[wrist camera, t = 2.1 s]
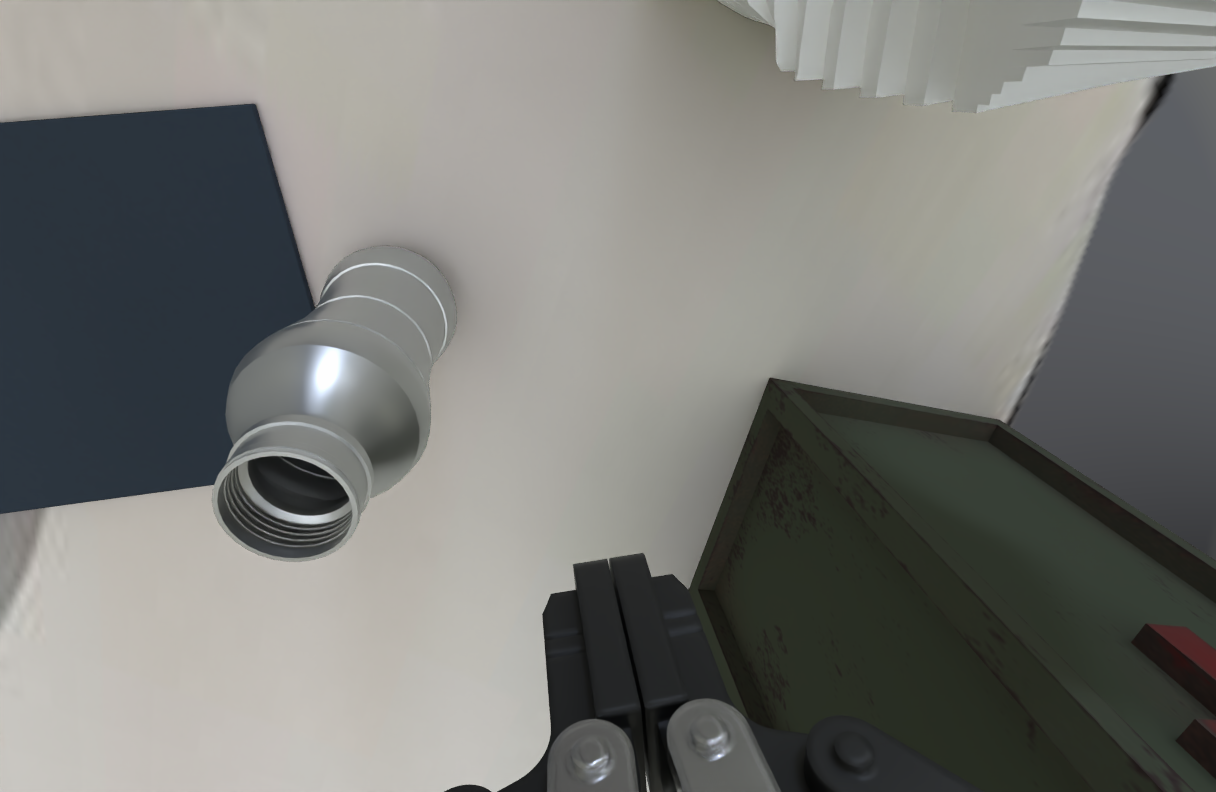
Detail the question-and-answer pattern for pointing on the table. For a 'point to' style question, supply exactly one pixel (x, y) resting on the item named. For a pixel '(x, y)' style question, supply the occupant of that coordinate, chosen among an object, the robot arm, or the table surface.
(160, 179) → the rubber mat
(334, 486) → the silver bottle
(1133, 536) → the first aid box
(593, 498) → the table surface
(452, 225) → the table surface
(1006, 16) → the paper stack
